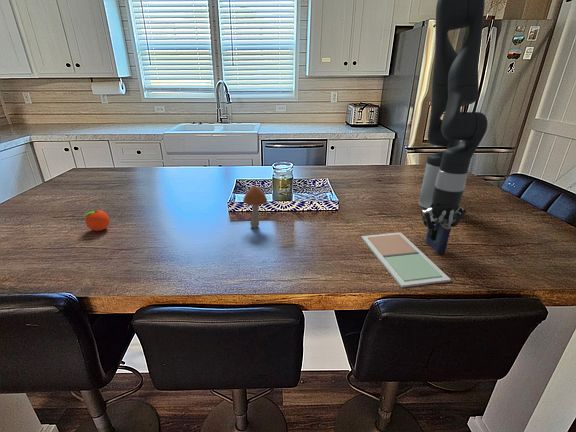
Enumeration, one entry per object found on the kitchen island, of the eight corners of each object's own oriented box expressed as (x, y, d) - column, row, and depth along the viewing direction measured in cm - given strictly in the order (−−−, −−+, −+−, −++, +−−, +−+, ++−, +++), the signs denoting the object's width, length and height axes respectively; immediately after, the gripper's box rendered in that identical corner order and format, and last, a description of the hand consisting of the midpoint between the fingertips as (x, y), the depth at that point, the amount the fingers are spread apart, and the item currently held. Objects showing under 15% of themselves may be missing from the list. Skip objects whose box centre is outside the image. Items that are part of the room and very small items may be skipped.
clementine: (84, 237, 103) (78, 217, 100) (85, 228, 109) (79, 209, 106) (111, 231, 106) (106, 212, 103) (111, 223, 112) (106, 205, 109)
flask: (422, 240, 102) (429, 210, 97) (431, 240, 102) (438, 210, 98) (438, 256, 94) (447, 224, 89) (447, 255, 94) (456, 223, 90)
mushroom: (271, 223, 113) (270, 183, 106) (262, 233, 106) (260, 191, 99) (250, 220, 115) (248, 180, 108) (240, 229, 108) (238, 188, 102)
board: (400, 234, 106) (401, 231, 106) (450, 281, 83) (451, 278, 82) (361, 237, 104) (361, 235, 103) (401, 287, 81) (401, 284, 80)
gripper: (462, 180, 94) (449, 231, 101) (419, 182, 91) (409, 235, 99) (481, 189, 87) (465, 243, 95) (435, 192, 85) (422, 247, 92)
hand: (436, 238), depth 97 cm, fingers closed on flask, 3 cm apart
